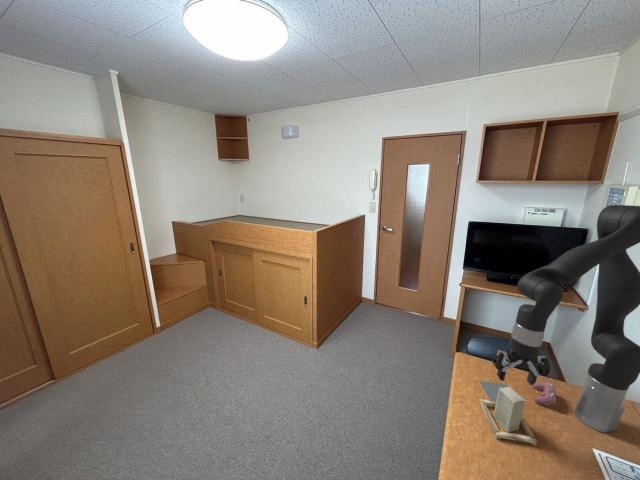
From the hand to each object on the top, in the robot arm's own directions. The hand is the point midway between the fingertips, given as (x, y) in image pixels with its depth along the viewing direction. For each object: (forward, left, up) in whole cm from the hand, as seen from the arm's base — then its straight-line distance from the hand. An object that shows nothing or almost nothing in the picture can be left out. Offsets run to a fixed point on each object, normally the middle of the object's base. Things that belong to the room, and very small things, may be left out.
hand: (515, 381), depth 84 cm
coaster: (-4, -13, -17) cm, 22 cm away
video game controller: (-20, -14, -18) cm, 30 cm away
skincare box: (0, 0, -18) cm, 18 cm away
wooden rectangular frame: (0, 0, -17) cm, 17 cm away
